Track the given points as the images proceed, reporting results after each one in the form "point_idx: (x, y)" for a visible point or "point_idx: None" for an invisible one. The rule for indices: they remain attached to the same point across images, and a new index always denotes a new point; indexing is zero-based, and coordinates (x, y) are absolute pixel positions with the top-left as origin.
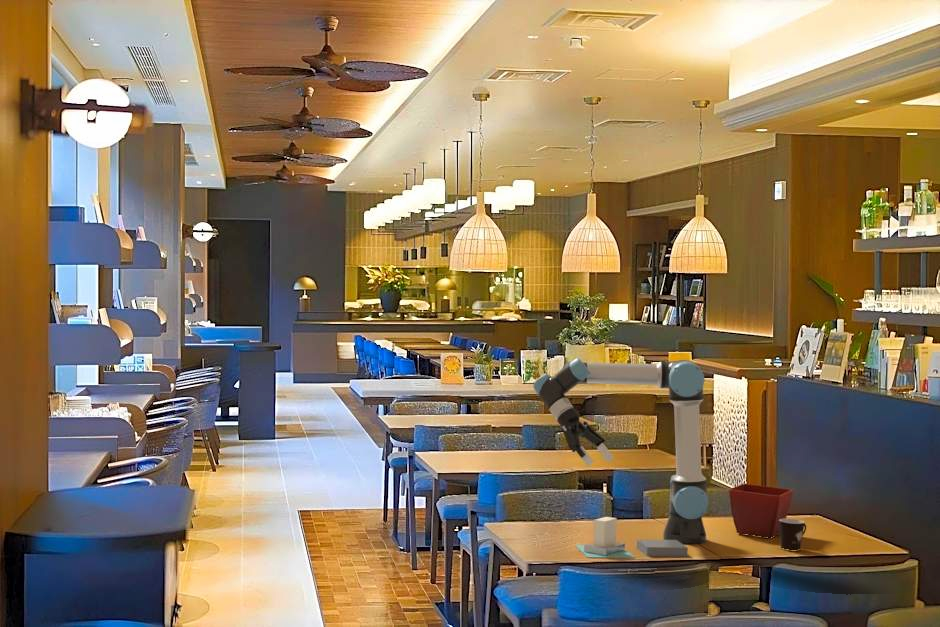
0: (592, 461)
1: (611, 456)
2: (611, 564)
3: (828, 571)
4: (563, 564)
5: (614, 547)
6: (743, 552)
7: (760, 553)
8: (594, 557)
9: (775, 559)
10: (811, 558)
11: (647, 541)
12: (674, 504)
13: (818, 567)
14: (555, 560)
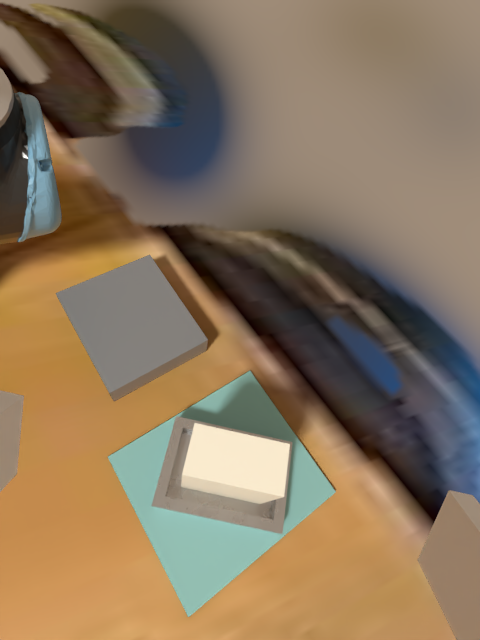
0: (471, 496)
1: (7, 412)
2: (357, 404)
3: (142, 76)
4: None
5: (241, 431)
6: None
7: None
8: (321, 472)
9: (83, 132)
10: (40, 88)
11: (124, 358)
12: (47, 220)
13: (118, 84)
14: None
